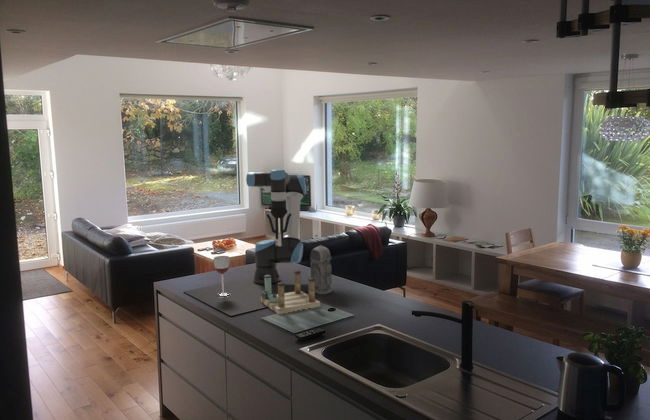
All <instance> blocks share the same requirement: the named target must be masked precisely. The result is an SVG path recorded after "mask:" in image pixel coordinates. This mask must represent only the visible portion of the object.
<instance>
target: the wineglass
mask: <svg viewBox="0 0 650 420" xmlns="http://www.w3.org/2000/svg"><path fill="white" fill-rule="evenodd" d="M213 264H214V269H215V271H216V272H217V273H218V274H220V275H221V292H220V293H221V294H219V293H218V294H219V295H220V296H227V295H229V294H230V293H229V294H227V293H228V292H224V291H225V290H224V289H225V288H224V287H225V286H224V274H225V273H226V272H228V270H229V269H230V256H228V255H218V256H215V257H213ZM227 297H228V296H227Z"/></svg>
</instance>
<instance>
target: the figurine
mask: <svg viewBox="0 0 650 420" xmlns="http://www.w3.org/2000/svg"><path fill="white" fill-rule="evenodd" d="M310 251H311V252H310V256H309V259H310V261H311V262H310V278H315V294H318V295H326V294H329V293H332V292H333V288H332V287H331V284H332V282H333V280H332V275H333V274H332V272H333V271H332V270H333V269H332V264H331V260H332V259H333V258H332V256H331V252H330V249H329V248H328V247H326V246H323V245H321V244H320V245H318V246H316V247H314V248H313V249H311V250H310Z"/></svg>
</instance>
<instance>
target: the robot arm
mask: <svg viewBox="0 0 650 420" xmlns="http://www.w3.org/2000/svg"><path fill="white" fill-rule="evenodd" d="M245 180H246V185H247V187H252V188H255V187H258V188H261V189H263V190H264V191H265V192H268V193H270V200H271V202H270V203H271V204H270V205H271V206H270V208H271V209H270V211H269V212H268V213H266V217H267V218H268V221H269V225H270V229H271V232H272V233H275V239H265V240H264V239H263V240H261V241H258V242H256V243H255V245H254V246H255V249H254V253H255V270H254V274H253V276H252V282H253V283H254V282H255V283H254V284H257V283H258V284H260V285H265V278H264V276H265V275H271V285H272V284H277V283H280V277H281V276H280V274H279V271H278V269H277V268H278V267H277V264H291V265H292V264H299V263H300V262H301V261H302V258H303V255H304V253H303V252H304V243H303V242H301V241H302V240H301V239H300V238H299V234H300V233H299V230H300V217H301V216H300V214H301V213H300V212H301V201H302V200H303V199H304V196H305V195H307V185H306V178H305V176H304V175H303V174H289V173H288V172H286V170H285V169H281V168H280V169H279V168H277V169H271V170H270V171H267V172H266V171H265V172H262V171H259V172H258V171H256V172H254V171H252V172H247V173H246V179H245ZM272 216H273V218H274V220H275V221H274V223H275V224H273V220H272ZM279 219H280V221H279ZM279 222H280V223H279ZM279 224H280V232H279ZM274 225H275V228H274ZM276 240H277V241H276ZM258 284H257V285H258Z"/></svg>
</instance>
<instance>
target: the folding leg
mask: <svg viewBox="0 0 650 420" xmlns="http://www.w3.org/2000/svg"><path fill="white" fill-rule="evenodd" d="M264 278H265V284H264V291H265V293H266V298H269V299H270V302H273V303H276V302H278V296H277V297H273V295H274V294H273V293H272V284H271V275H265V276H264Z"/></svg>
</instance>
